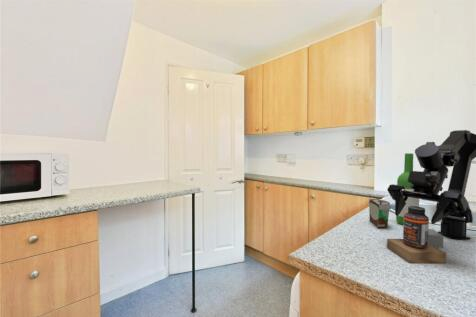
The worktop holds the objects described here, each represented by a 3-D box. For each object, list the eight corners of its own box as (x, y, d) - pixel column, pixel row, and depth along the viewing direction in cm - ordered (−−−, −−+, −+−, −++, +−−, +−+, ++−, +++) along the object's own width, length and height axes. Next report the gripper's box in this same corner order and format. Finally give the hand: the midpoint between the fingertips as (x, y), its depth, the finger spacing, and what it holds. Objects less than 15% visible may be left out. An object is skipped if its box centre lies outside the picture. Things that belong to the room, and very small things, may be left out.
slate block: (432, 240, 82) (433, 229, 82) (442, 248, 75) (443, 236, 75) (409, 238, 84) (409, 227, 84) (416, 245, 78) (417, 233, 77)
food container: (396, 230, 91) (397, 205, 91) (379, 229, 92) (379, 204, 92) (383, 221, 103) (384, 198, 103) (368, 220, 104) (368, 198, 104)
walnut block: (418, 248, 75) (418, 238, 75) (445, 263, 65) (446, 252, 65) (386, 247, 75) (387, 238, 75) (409, 262, 65) (409, 252, 65)
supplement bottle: (398, 243, 71) (399, 206, 71) (409, 239, 74) (410, 204, 74) (421, 250, 66) (422, 210, 66) (432, 246, 69) (433, 208, 68)
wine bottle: (411, 227, 95) (413, 153, 94) (391, 222, 102) (393, 153, 101) (422, 225, 98) (424, 153, 97) (403, 220, 105) (405, 153, 104)
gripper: (391, 160, 79) (370, 195, 74) (464, 163, 63) (445, 209, 58) (402, 182, 83) (384, 217, 78) (474, 190, 67) (457, 235, 62)
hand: (413, 218), depth 69 cm, fingers open, 9 cm apart
